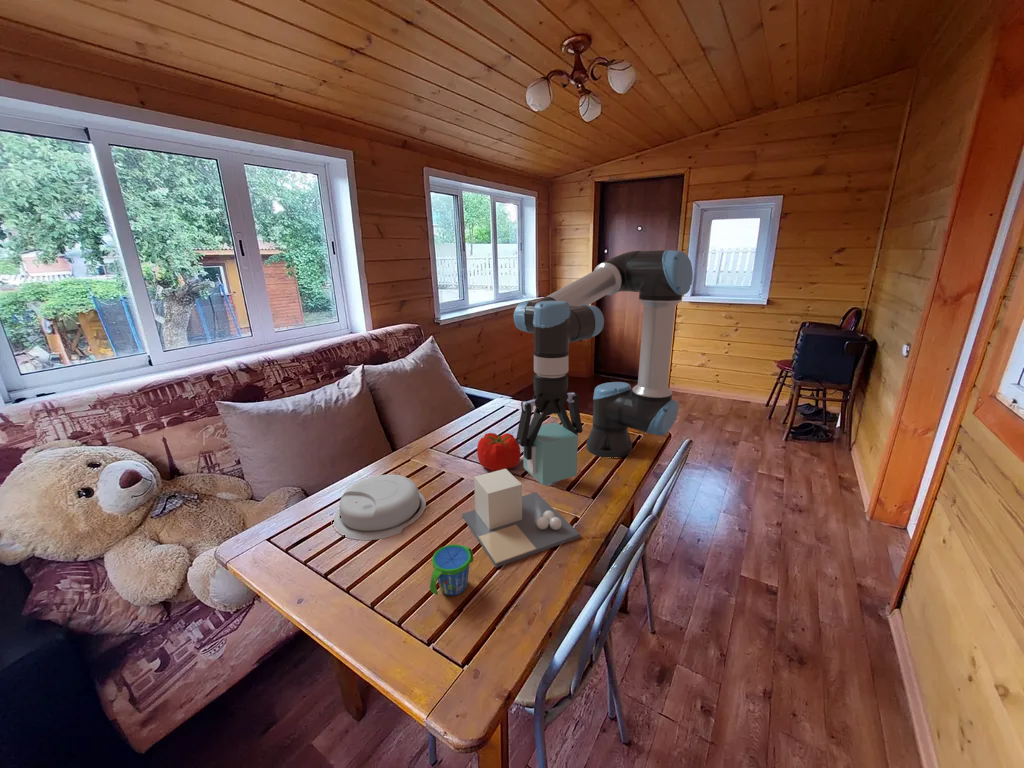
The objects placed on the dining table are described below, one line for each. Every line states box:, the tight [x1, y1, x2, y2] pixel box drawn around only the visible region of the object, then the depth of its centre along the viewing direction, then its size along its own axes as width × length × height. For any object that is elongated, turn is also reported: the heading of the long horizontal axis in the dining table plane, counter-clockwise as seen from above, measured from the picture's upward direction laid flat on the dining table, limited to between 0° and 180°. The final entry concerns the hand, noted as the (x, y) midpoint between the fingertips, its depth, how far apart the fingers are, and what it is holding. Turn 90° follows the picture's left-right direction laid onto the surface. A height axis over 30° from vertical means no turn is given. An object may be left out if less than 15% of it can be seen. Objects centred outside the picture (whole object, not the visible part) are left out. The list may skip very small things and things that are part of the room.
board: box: [461, 491, 581, 569], centre depth 106 cm, size 22×21×1 cm
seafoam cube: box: [523, 421, 579, 486], centre depth 98 cm, size 9×9×10 cm
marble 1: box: [536, 517, 549, 530], centre depth 103 cm, size 3×3×3 cm
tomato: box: [476, 432, 521, 472], centre depth 134 cm, size 14×13×10 cm
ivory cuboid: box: [473, 469, 523, 530], centre depth 108 cm, size 9×9×10 cm
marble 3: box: [549, 517, 562, 530], centre depth 103 cm, size 3×3×3 cm
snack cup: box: [429, 544, 474, 596], centre depth 86 cm, size 11×8×7 cm
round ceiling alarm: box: [333, 474, 427, 541], centre depth 114 cm, size 25×25×6 cm
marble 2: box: [543, 510, 555, 522], centre depth 106 cm, size 3×3×3 cm
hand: (549, 466), depth 99 cm, fingers closed on seafoam cube, 9 cm apart
